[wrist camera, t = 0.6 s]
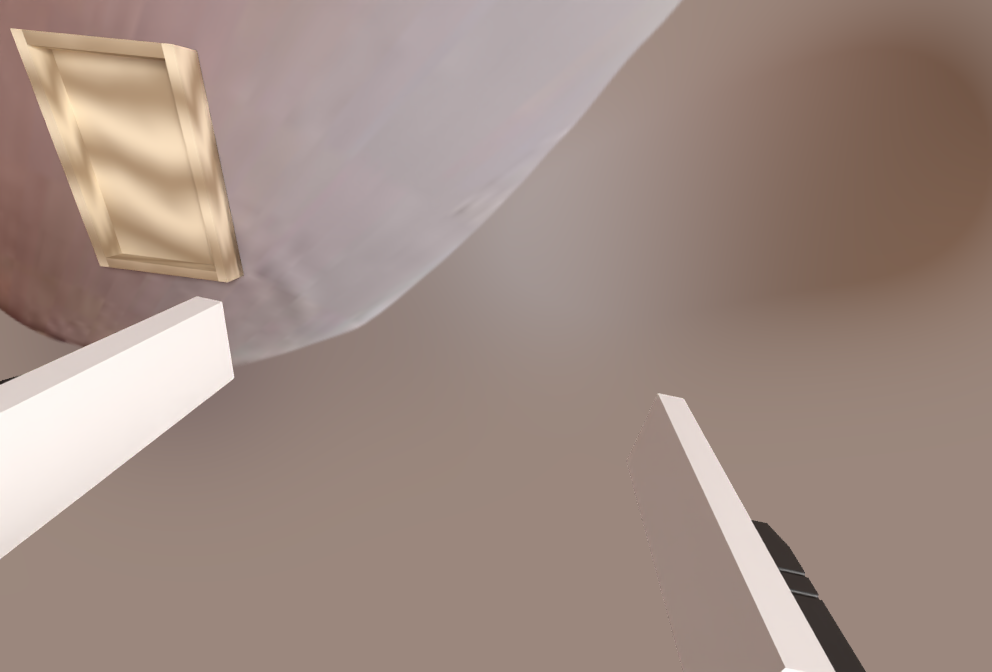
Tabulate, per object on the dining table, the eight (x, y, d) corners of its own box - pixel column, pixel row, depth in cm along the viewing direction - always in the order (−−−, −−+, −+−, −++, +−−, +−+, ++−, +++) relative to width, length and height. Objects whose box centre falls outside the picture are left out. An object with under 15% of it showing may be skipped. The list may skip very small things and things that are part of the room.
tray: (43, 35, 34) (10, 28, 32) (196, 50, 33) (173, 44, 31) (122, 259, 43) (100, 266, 41) (243, 275, 42) (227, 282, 40)
